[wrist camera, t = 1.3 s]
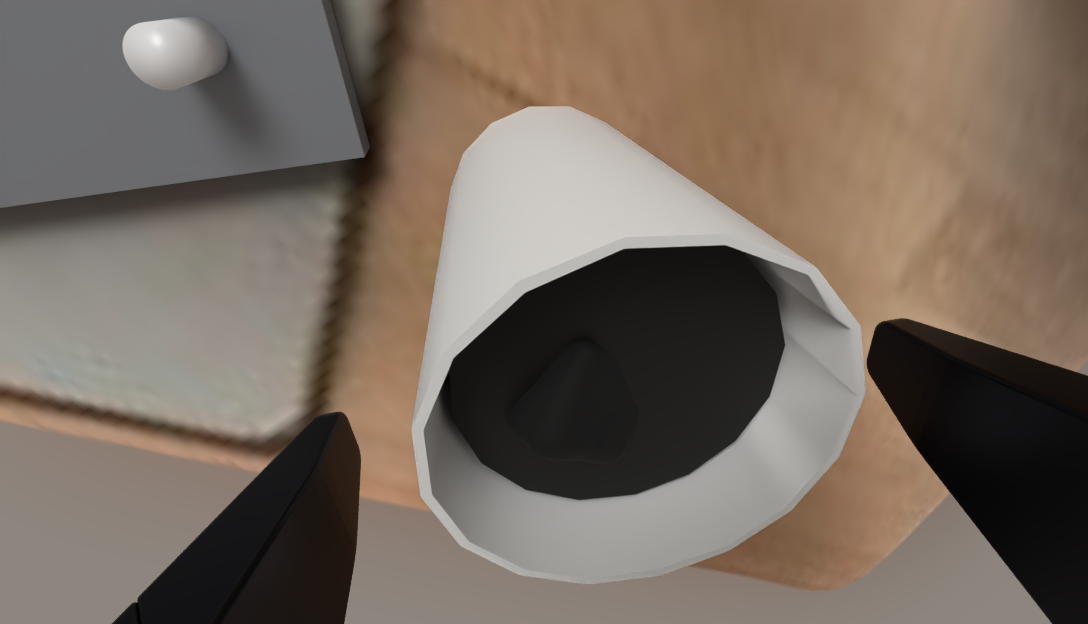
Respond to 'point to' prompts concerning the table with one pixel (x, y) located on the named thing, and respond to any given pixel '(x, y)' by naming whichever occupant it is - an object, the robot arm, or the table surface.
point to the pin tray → (168, 93)
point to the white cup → (618, 361)
